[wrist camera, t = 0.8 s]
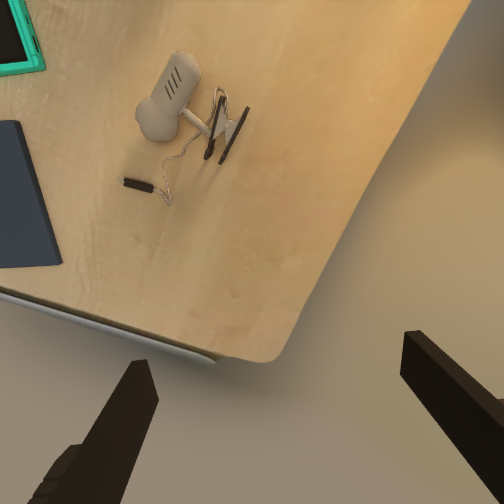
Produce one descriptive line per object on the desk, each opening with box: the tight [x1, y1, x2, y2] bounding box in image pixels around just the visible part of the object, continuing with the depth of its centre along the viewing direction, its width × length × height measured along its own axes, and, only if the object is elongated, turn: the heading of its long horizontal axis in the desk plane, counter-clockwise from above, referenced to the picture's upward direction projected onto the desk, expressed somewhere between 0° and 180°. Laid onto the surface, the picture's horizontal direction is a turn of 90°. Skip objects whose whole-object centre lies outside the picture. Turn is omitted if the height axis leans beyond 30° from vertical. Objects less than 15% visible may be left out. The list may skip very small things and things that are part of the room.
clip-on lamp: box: [117, 51, 250, 206], centre depth 31 cm, size 12×6×18 cm
